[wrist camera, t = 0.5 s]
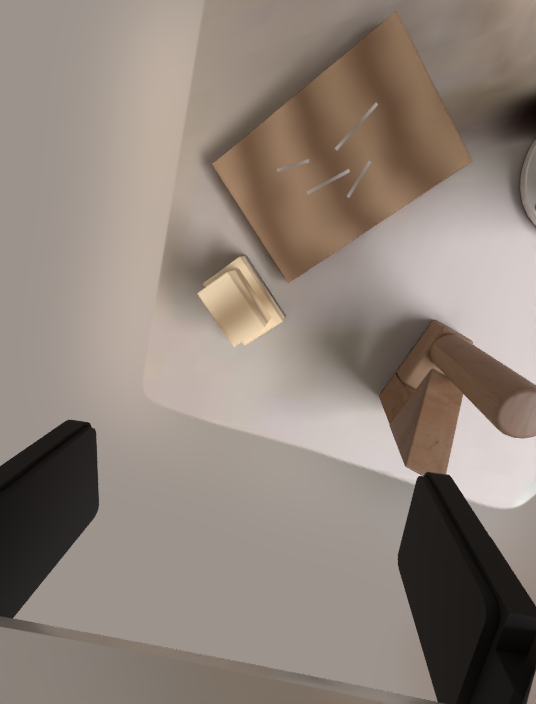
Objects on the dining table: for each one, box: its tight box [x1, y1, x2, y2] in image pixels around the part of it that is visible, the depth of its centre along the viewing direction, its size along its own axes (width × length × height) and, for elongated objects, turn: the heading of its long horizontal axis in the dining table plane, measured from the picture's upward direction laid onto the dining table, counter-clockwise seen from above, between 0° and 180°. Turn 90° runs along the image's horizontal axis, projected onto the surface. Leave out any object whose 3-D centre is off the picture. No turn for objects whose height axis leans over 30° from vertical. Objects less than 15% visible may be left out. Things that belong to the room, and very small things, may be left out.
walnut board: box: [212, 12, 472, 283], centre depth 35 cm, size 20×14×2 cm
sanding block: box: [197, 256, 286, 347], centre depth 37 cm, size 8×5×9 cm, turn 34°
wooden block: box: [379, 320, 536, 476], centre depth 32 cm, size 4×11×18 cm, turn 152°
